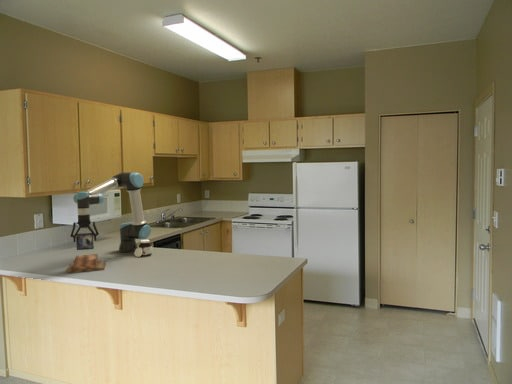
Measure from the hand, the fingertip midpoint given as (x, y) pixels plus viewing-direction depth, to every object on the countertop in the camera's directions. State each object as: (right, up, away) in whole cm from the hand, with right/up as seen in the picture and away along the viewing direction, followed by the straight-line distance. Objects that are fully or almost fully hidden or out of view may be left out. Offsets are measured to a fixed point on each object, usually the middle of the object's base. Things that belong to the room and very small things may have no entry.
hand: (85, 246), depth 288 cm
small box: (0, -2, 0) cm, 2 cm away
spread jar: (+30, -12, +36) cm, 48 cm away
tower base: (0, -15, +1) cm, 15 cm away
